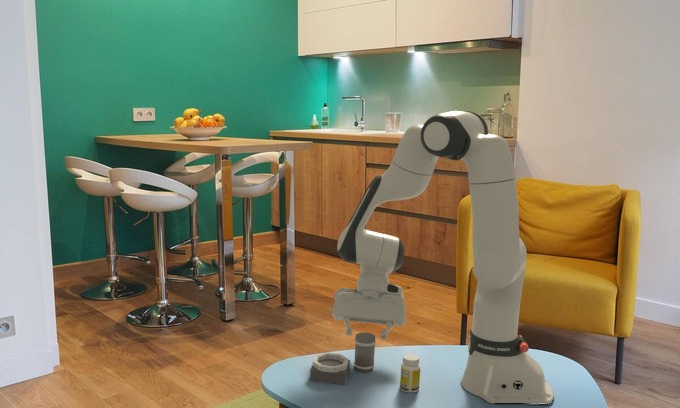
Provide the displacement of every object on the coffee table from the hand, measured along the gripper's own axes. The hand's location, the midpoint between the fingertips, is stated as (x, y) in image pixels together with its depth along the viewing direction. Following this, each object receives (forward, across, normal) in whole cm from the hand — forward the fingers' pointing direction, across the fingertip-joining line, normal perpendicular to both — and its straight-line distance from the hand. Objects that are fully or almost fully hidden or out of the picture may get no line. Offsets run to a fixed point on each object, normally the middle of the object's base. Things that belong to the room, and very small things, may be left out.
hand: (366, 336), depth 169 cm
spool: (+8, 0, +3) cm, 8 cm away
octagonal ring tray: (+12, -8, -1) cm, 15 cm away
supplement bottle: (+14, +13, -3) cm, 19 cm away
